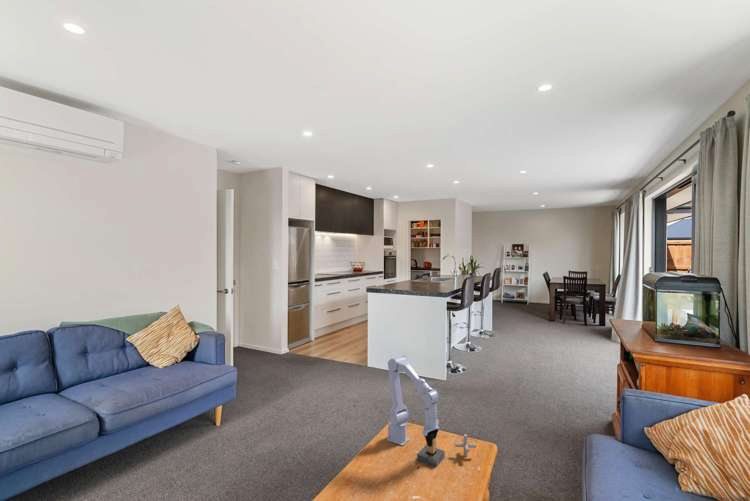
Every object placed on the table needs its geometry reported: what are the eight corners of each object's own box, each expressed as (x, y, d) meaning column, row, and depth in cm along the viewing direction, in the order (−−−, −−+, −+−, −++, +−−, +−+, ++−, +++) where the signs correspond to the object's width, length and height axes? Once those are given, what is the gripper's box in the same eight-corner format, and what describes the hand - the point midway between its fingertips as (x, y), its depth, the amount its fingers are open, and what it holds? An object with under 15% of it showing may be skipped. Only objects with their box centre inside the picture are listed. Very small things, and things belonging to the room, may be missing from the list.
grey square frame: (417, 460, 170) (417, 454, 170) (426, 450, 178) (426, 444, 178) (436, 467, 164) (436, 460, 164) (444, 457, 173) (444, 450, 173)
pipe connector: (474, 450, 178) (474, 430, 179) (477, 462, 169) (477, 441, 169) (453, 449, 179) (454, 429, 180) (456, 460, 170) (456, 439, 170)
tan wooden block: (427, 451, 171) (427, 439, 171) (430, 448, 173) (430, 436, 173) (433, 453, 169) (433, 441, 169) (435, 450, 172) (435, 438, 172)
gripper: (432, 424, 163) (432, 453, 163) (444, 412, 175) (444, 440, 175) (418, 420, 167) (418, 449, 167) (431, 409, 179) (431, 436, 179)
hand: (431, 444), depth 171 cm, fingers closed on tan wooden block, 3 cm apart
